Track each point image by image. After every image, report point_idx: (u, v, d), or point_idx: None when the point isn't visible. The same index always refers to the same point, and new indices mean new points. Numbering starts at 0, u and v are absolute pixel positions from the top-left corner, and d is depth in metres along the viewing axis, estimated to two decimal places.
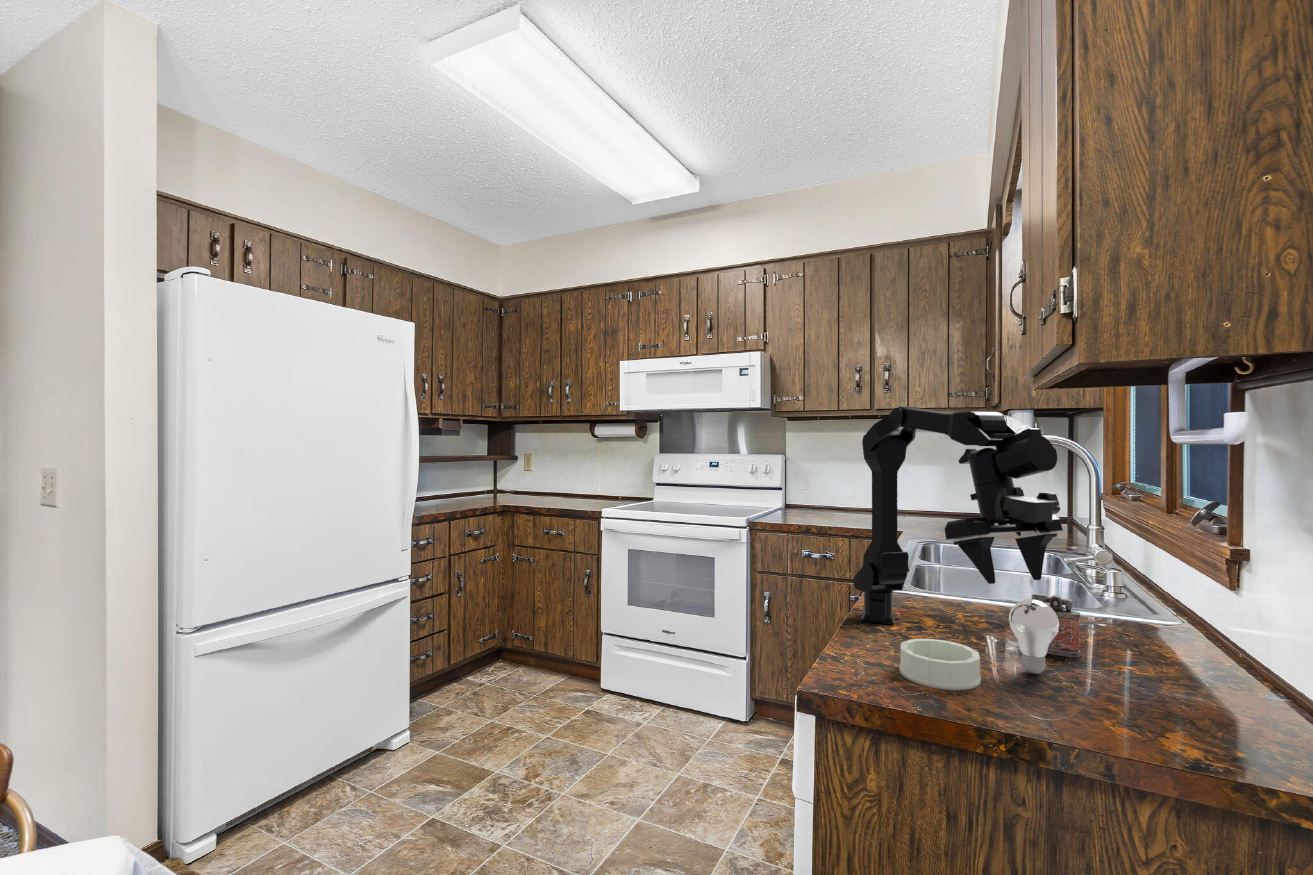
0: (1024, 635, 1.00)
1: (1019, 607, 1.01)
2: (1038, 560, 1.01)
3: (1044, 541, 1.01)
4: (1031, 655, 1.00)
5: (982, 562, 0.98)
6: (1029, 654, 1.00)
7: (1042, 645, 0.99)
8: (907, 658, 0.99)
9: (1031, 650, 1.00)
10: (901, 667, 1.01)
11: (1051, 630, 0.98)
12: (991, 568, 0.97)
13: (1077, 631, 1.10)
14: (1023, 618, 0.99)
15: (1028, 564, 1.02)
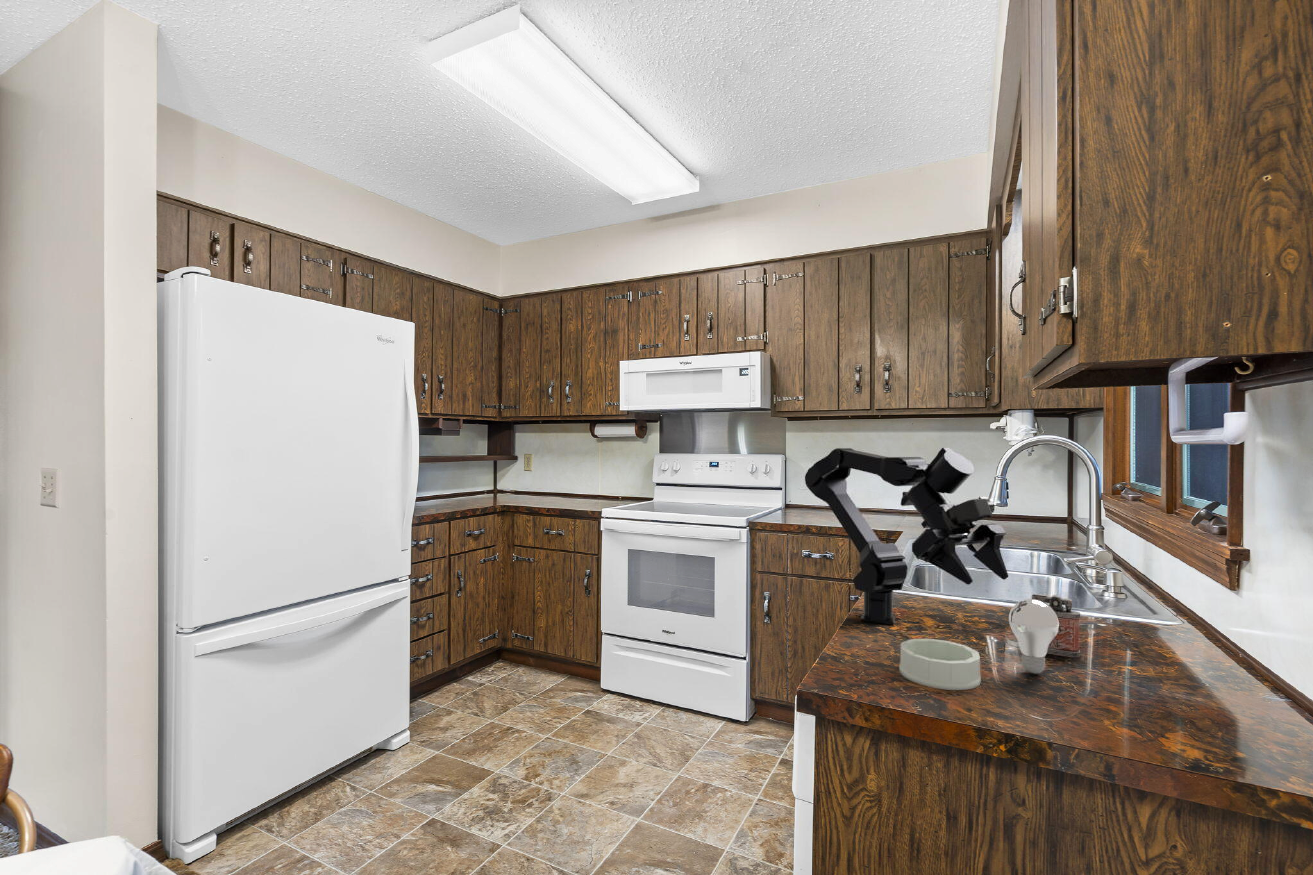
0: (1023, 635, 1.00)
1: (1019, 607, 1.01)
2: (999, 560, 1.12)
3: (995, 543, 1.13)
4: (1031, 655, 1.00)
5: (955, 566, 1.08)
6: (1029, 654, 1.00)
7: (1042, 645, 0.99)
8: (907, 658, 0.99)
9: (1031, 650, 1.00)
10: (901, 667, 1.01)
11: (1051, 630, 0.98)
12: (964, 568, 1.07)
13: (1077, 631, 1.10)
14: (1023, 618, 0.99)
15: (993, 569, 1.13)
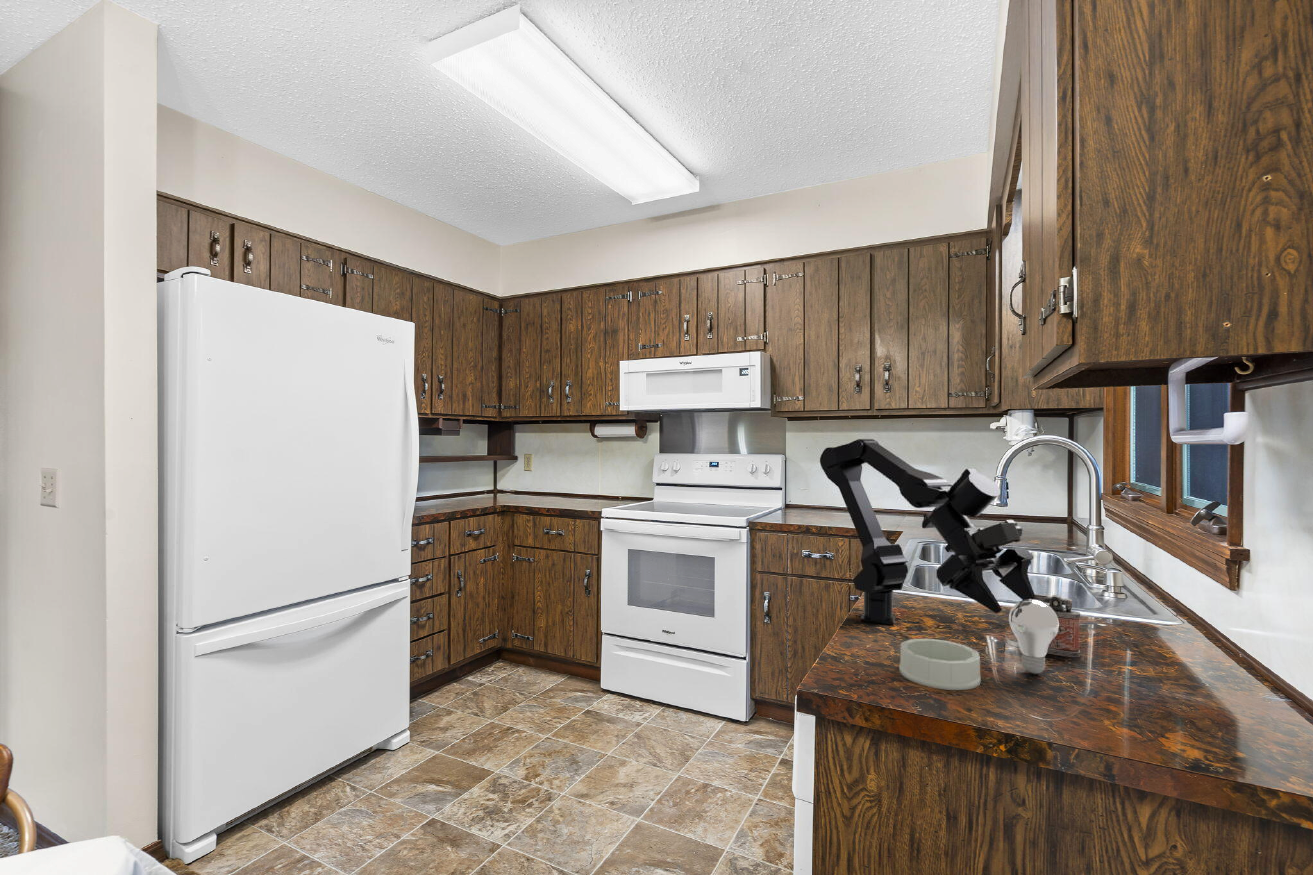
0: (1024, 635, 1.00)
1: (1019, 607, 1.01)
2: (1027, 587, 1.07)
3: (1023, 568, 1.09)
4: (1031, 655, 1.00)
5: (982, 594, 1.03)
6: (1029, 654, 1.00)
7: (1042, 645, 0.99)
8: (907, 658, 0.99)
9: (1031, 650, 1.00)
10: (901, 667, 1.01)
11: (1051, 630, 0.98)
12: (992, 596, 1.02)
13: (1077, 631, 1.10)
14: (1023, 618, 0.99)
15: (1021, 595, 1.08)
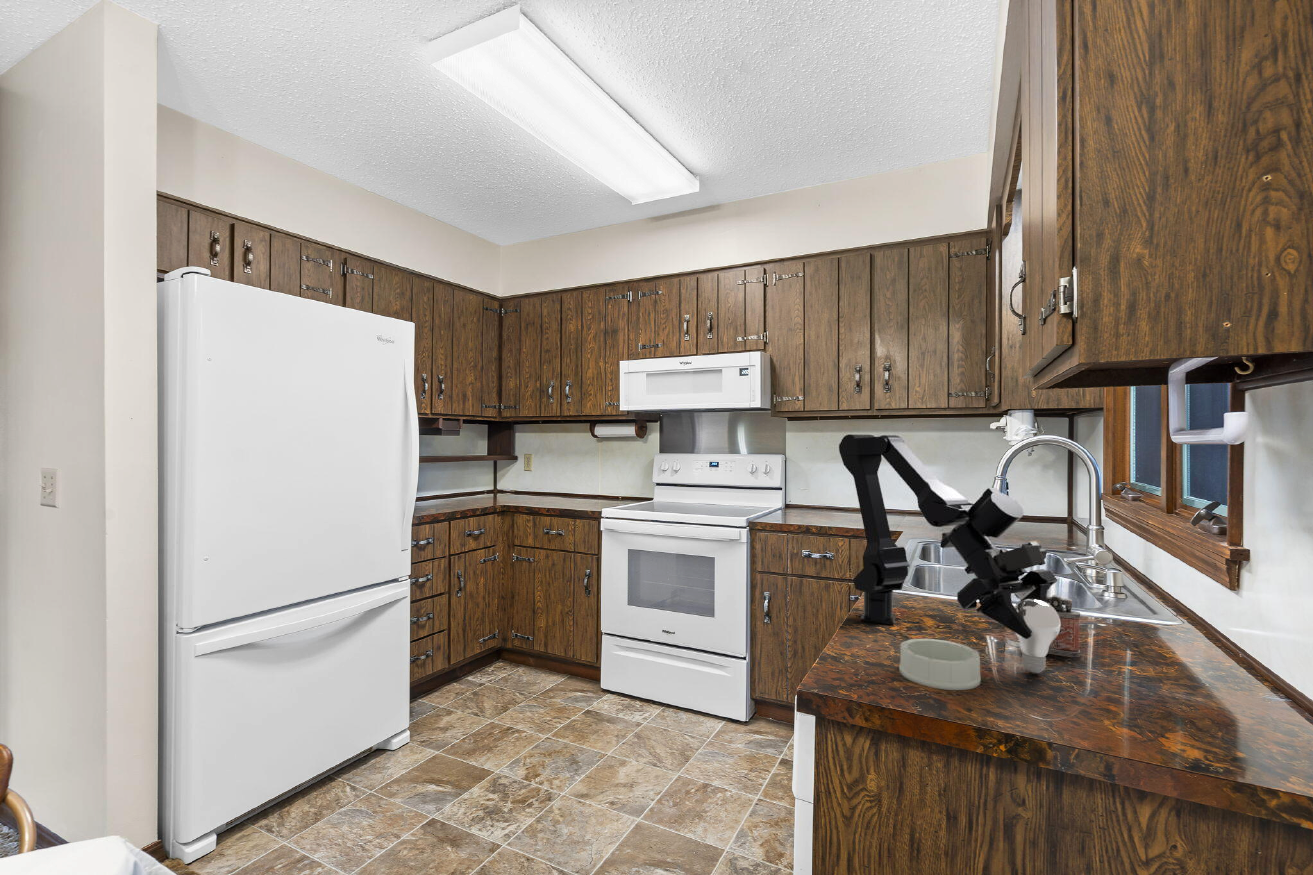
0: None
1: (1021, 606, 1.01)
2: None
3: (1042, 592, 1.04)
4: (1031, 654, 1.00)
5: (1011, 619, 1.00)
6: (1030, 653, 1.00)
7: (1043, 644, 0.99)
8: (907, 658, 0.99)
9: (1032, 649, 1.00)
10: (901, 667, 1.01)
11: (1052, 629, 0.98)
12: (1021, 621, 0.99)
13: (1077, 631, 1.10)
14: (1025, 617, 1.00)
15: None
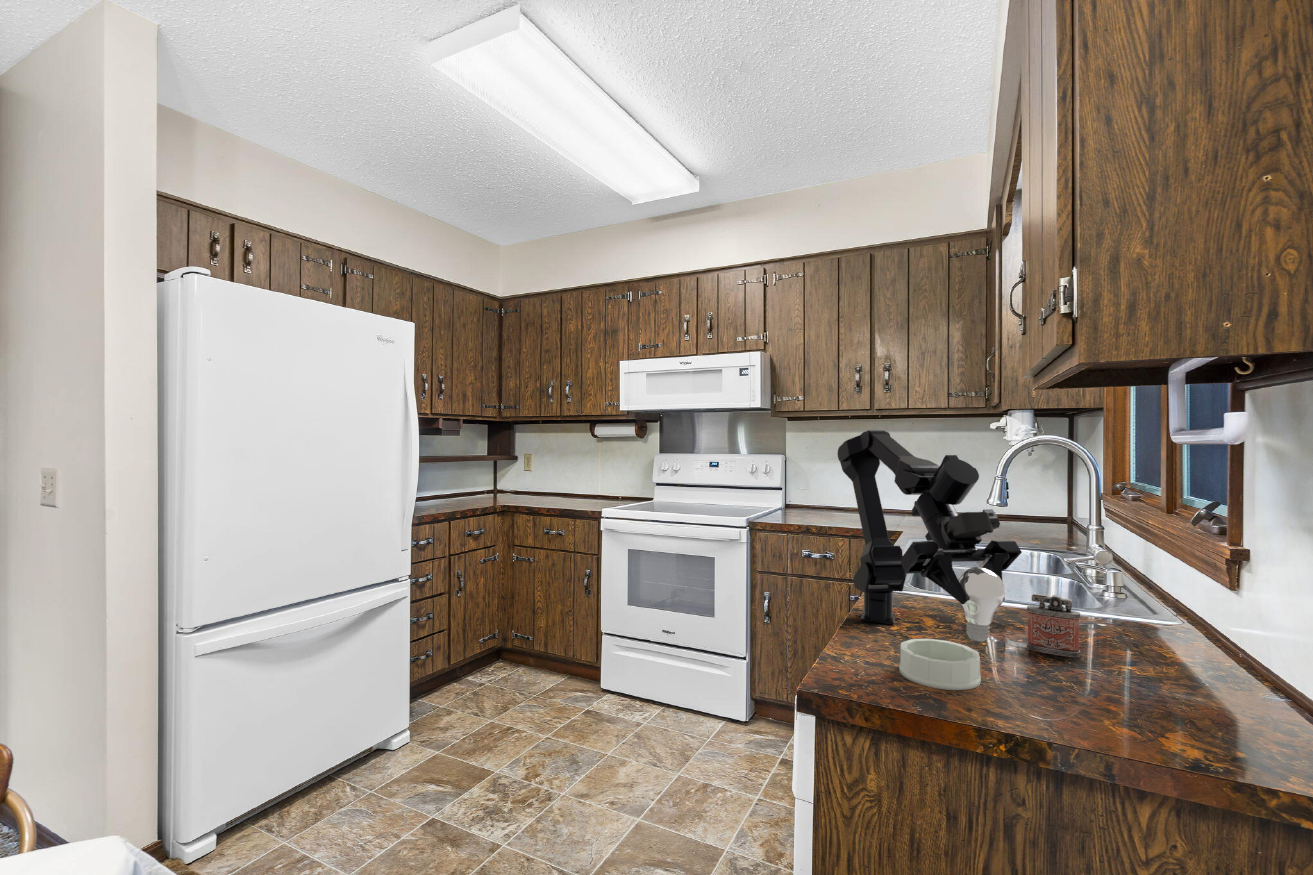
0: None
1: (964, 573, 1.00)
2: None
3: (996, 561, 1.02)
4: (972, 622, 0.99)
5: (950, 583, 1.00)
6: (970, 621, 0.99)
7: (982, 612, 0.98)
8: (907, 658, 0.99)
9: (972, 617, 0.99)
10: (901, 667, 1.01)
11: (989, 597, 0.97)
12: (958, 586, 0.99)
13: (1077, 631, 1.10)
14: (964, 583, 0.99)
15: None
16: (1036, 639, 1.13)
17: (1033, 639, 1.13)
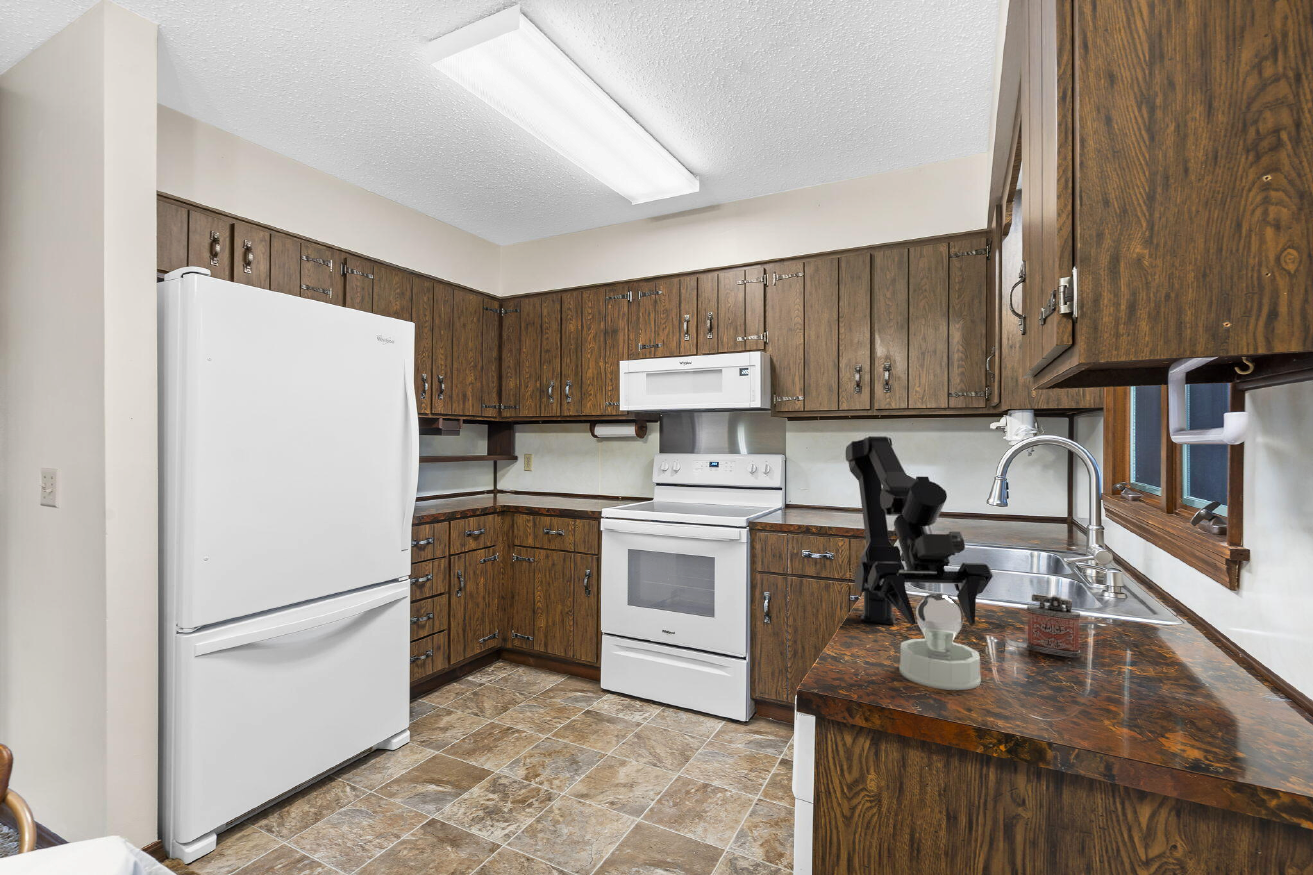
0: (921, 626, 1.00)
1: (922, 599, 1.01)
2: (969, 604, 1.00)
3: (971, 584, 1.01)
4: (930, 648, 1.00)
5: (901, 604, 1.01)
6: (929, 647, 1.00)
7: (938, 638, 0.99)
8: (907, 658, 0.99)
9: (929, 643, 1.00)
10: (901, 667, 1.01)
11: (943, 623, 0.97)
12: (908, 607, 1.00)
13: (1077, 631, 1.10)
14: (919, 609, 1.00)
15: (965, 613, 1.01)
16: (1036, 639, 1.13)
17: (1033, 639, 1.13)
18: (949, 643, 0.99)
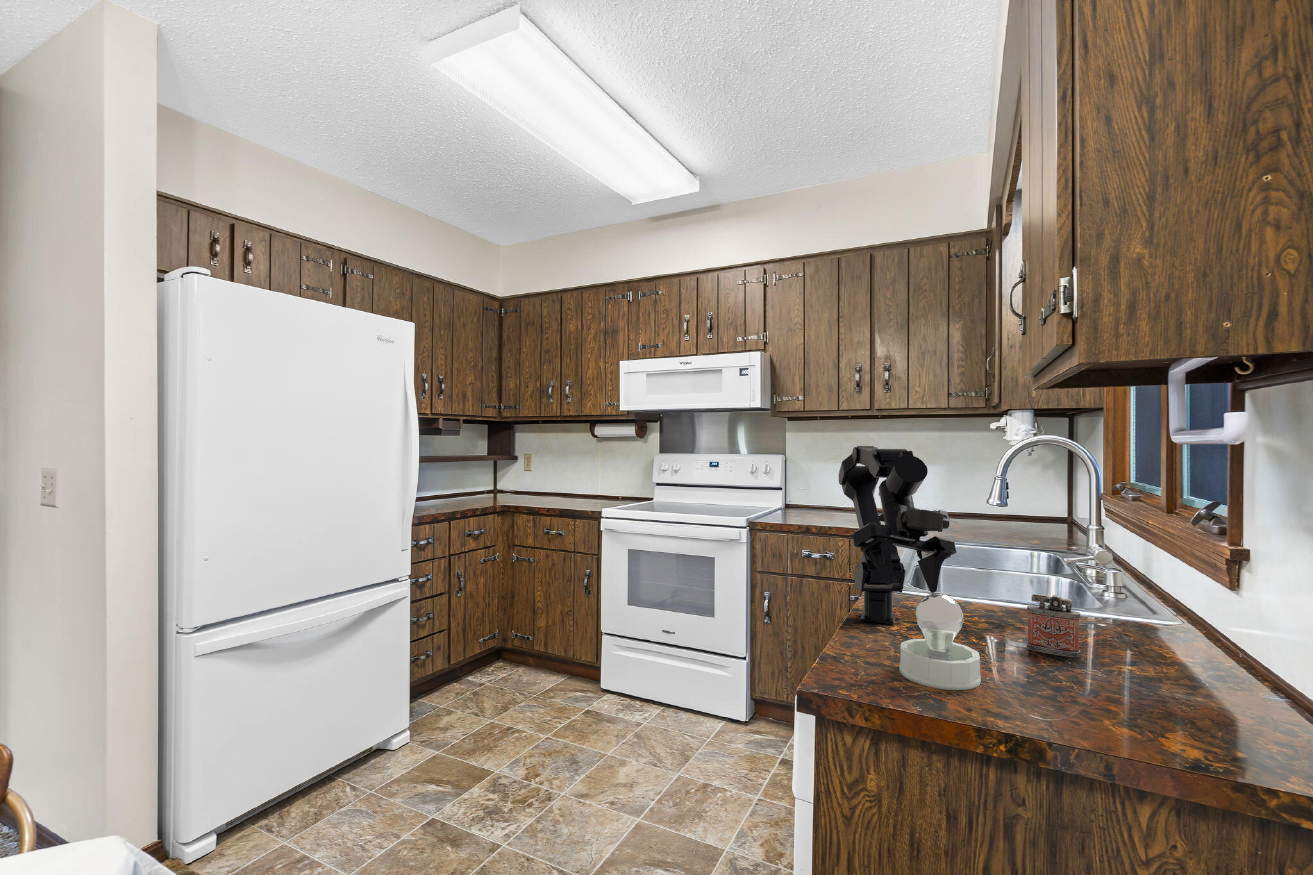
0: (921, 626, 1.00)
1: (922, 599, 1.01)
2: (934, 574, 1.13)
3: (939, 557, 1.14)
4: (930, 648, 1.00)
5: (884, 564, 1.10)
6: (929, 647, 1.00)
7: (938, 638, 0.98)
8: (907, 658, 0.99)
9: (929, 643, 1.00)
10: (901, 667, 1.01)
11: (943, 624, 0.97)
12: (890, 569, 1.10)
13: (1077, 631, 1.10)
14: (919, 609, 1.00)
15: (926, 579, 1.14)
16: (1036, 639, 1.13)
17: (1033, 639, 1.13)
18: (949, 643, 0.99)
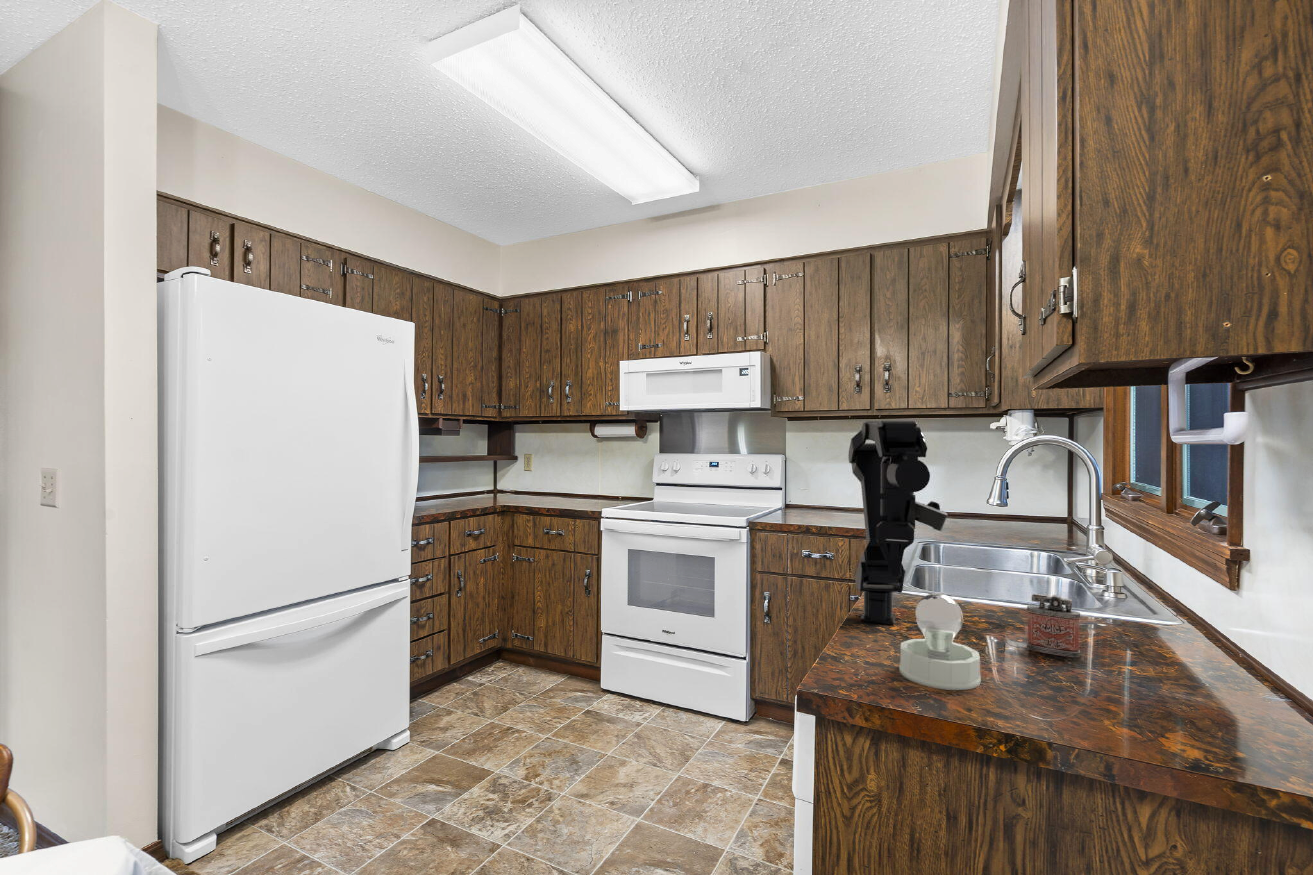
0: (920, 626, 1.00)
1: (921, 599, 1.01)
2: None
3: None
4: (930, 648, 1.00)
5: (896, 559, 1.12)
6: (929, 647, 1.00)
7: (938, 638, 0.99)
8: (907, 658, 0.99)
9: (929, 643, 1.00)
10: (901, 667, 1.01)
11: (942, 624, 0.97)
12: (901, 564, 1.12)
13: (1077, 631, 1.10)
14: (919, 610, 1.00)
15: None
16: (1036, 639, 1.13)
17: (1033, 639, 1.13)
18: (949, 643, 0.99)
